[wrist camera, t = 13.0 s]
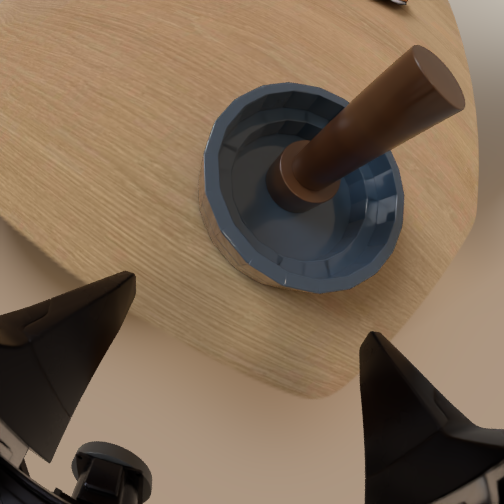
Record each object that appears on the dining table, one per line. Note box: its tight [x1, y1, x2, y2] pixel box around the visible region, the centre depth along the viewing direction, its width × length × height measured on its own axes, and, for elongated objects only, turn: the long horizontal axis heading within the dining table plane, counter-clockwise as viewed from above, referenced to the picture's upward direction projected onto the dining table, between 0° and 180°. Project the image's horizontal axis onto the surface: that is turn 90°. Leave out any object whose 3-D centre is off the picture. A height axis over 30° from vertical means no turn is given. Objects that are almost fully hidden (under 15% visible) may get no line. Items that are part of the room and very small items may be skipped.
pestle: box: [266, 45, 465, 213], centre depth 13 cm, size 4×4×14 cm
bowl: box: [199, 82, 404, 294], centre depth 18 cm, size 14×14×5 cm
